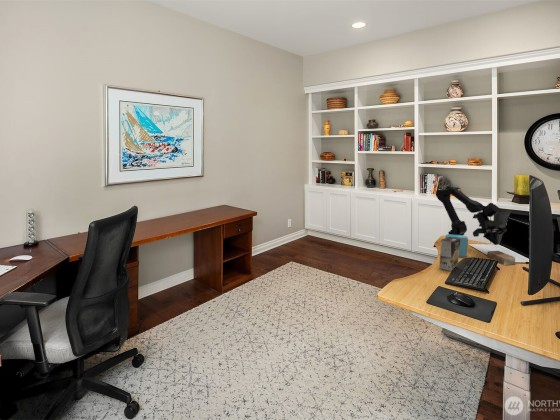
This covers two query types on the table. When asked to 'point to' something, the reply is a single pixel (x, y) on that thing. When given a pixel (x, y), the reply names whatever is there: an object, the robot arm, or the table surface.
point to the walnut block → (501, 257)
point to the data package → (461, 244)
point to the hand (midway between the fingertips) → (496, 244)
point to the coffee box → (449, 253)
